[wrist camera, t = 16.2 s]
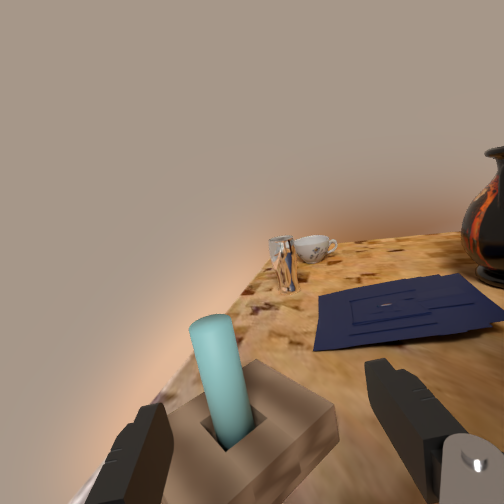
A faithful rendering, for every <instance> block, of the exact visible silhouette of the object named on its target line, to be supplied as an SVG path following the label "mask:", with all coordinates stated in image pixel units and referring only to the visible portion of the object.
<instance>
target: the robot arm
mask: <svg viewBox="0 0 504 504" xmlns="http://www.w3.org/2000/svg"><path fill="white" fill-rule="evenodd" d="M364 366H365V374H366V382H367V390H368V397H369V401H370V404H371V407H372V409H373V411H374V413H375V415H376V417H377V419H378V420H379V422H380V424H381V425H382V427H383V429H384V431H385V432H386V434H387V436H388V437H389V439H390V441H391V442H392V444H393V446H394V448H395V449H396V451H397V453H398V454H399V456H400V458H401V460H402V461H403V463H404V465H405V466H406V468H407V470H408V472H409V473H410V475H411V477H412V478H413V480H414V482H415V484H416V485H417V487H418V489H419V490H420V492H421V494H422V495H423V497H424V499H425V501H426V502H427V504H433V503H438V502H439V504H504V452H501V451H500V450H499V449H498V448H497V447H495V446H494V445H493V444H491V443H490V442H488V441H487V440H485V439H483V438H480V437H478V436H475V435H471V434H469V433H468V432H467V431H466V430H465V429H464V428H463V427H462V425H461V424H460V423H459V422H458V421H457V420H456V419H455V418H454V417H453V416H452V415H451V413H450V412H449V411H448V410H447V409H446V408H445V407H444V406H443V405H442V404H441V403H440V401H439V400H438V399H437V398H435V396H434V395H433V394H432V393H431V392H430V390H429V389H428V390H427V387H426V386H425V385H424V384H423V383H422V382H421V381H420V380H419V378H418V377H417V376H415V375H413V374H411V373H410V372H408V371H406V370H404V369H400V370H395V369H394V368H393V367H392V365H391V364H390V363H389V362H388V361H387V360H386V359H385V358H381V359H376V360H371V361H366V362H365V365H364ZM173 452H174V437H173V432H172V429H171V426H170V423H169V420H168V417H167V414H166V411H165V408H164V405H163V404H162V403H156V404H151V405H146V406H142V407H141V408H140V409H139V411H138V414H137V416H136V418H135V420H134V423H129V424H127V426H126V427H125V428H124V429H123V430H122V431H121V432H120V434H119V435H118V436H117V438H116V440H115V442H114V444H113V446H112V448H111V452H110V453H109V454H108V456H107V458H106V460H105V464H103V466H102V468H101V471H100V473H99V475H98V477H97V479H96V481H95V483H94V485H93V487H92V489H91V491H90V493H89V495H88V497H87V499H86V501H85V503H84V504H161V501H162V497H163V493H164V488H165V484H166V480H167V476H168V472H169V468H170V464H171V460H172V456H173Z"/></svg>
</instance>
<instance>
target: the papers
mask: <svg viewBox="0 0 504 504" xmlns="http://www.w3.org/2000/svg"><path fill="white" fill-rule="evenodd" d="M500 321H504V310H503V309H502V308H500V307H499V306H498V305H496V304H495V303H494V302H493V301H491V300H490V299H489V298H487V297H486V296H485V295H484V294H482V293H481V292H480V291H479V290H478V289H476V288H475V287H474V286H473V285H472V284H471V283H469V282H468V281H467V280H466V279H465V278H464V277H462V276H461V275H460V274H459V273H456V274H451V275H445V276H440V275H439V274H438V275H432V276H426V277H416V278H410V279H401V280H396V281H390V282H385V283H380V284H374V285H369V286H363V287H358V288H353V289H347V290H344V291H339V292H335V293H331V294H327V295H322V296H319V320H318V325H317V331H316V337H315V343H314V349H313V351H319V350H329V349H338V348H345V347H352V346H356V345H364V344H372V343H380V342H387V341H395V340H403V339H411V338H419V337H426V336H434V335H439V336H441V335H448V334H455V333H462V332H468V331H467V330H473V329H480V328H487V327H493V326H492V325H490V324H489V323H493V322H500Z"/></svg>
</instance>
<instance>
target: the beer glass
mask: <svg viewBox="0 0 504 504" xmlns="http://www.w3.org/2000/svg"><path fill="white" fill-rule="evenodd" d="M269 250H270V257H271V261H272V264H273V267H274V270H275V273H276V276H277V279H278V292H279V294H281V295H292V294H296V293H298V292H299V291H300V286H299V283H298V280H297V255H296V249H295V244H294V240H293V236H290V235H287V236H279V237H275V238H272V239H269Z"/></svg>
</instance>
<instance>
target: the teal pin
mask: <svg viewBox="0 0 504 504" xmlns="http://www.w3.org/2000/svg"><path fill="white" fill-rule="evenodd" d="M189 333H190V337H191V341H192V345H193V348H194V352H195V356H196V360H197V364H198V368H199V372H200V375H201V379H202V383H203V387H204V391H205V395H206V399H207V403H208V406H209V410H210V414H211V418H212V422H213V426H214V430H215V434H216V437H217V441H218V444H219V445H220V446H221V448H222V449H223V450H224V451H225V452H227V451H228V450H229V449H230V448H232V447H233V446H234V445H235V444H236V443H238V442H239V441H240V440H241V439H243V438H244V437H245V436H246V435H248V434H249V433H250V432H251V431H253V430H254V429H255V425H254V420H253V416H252V411H251V407H250V402H249V398H248V393H247V389H246V384H245V380H244V375H243V371H242V366H241V362H240V357H239V353H238V348H237V344H236V339H235V334H234V330H233V325H232V321H231V318H230V316H228V315H225V314H214V315H209V316H206V317H203V318H200V319H199V320H197V321H195V322H194V323H192V324H191V326H190V327H189Z"/></svg>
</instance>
